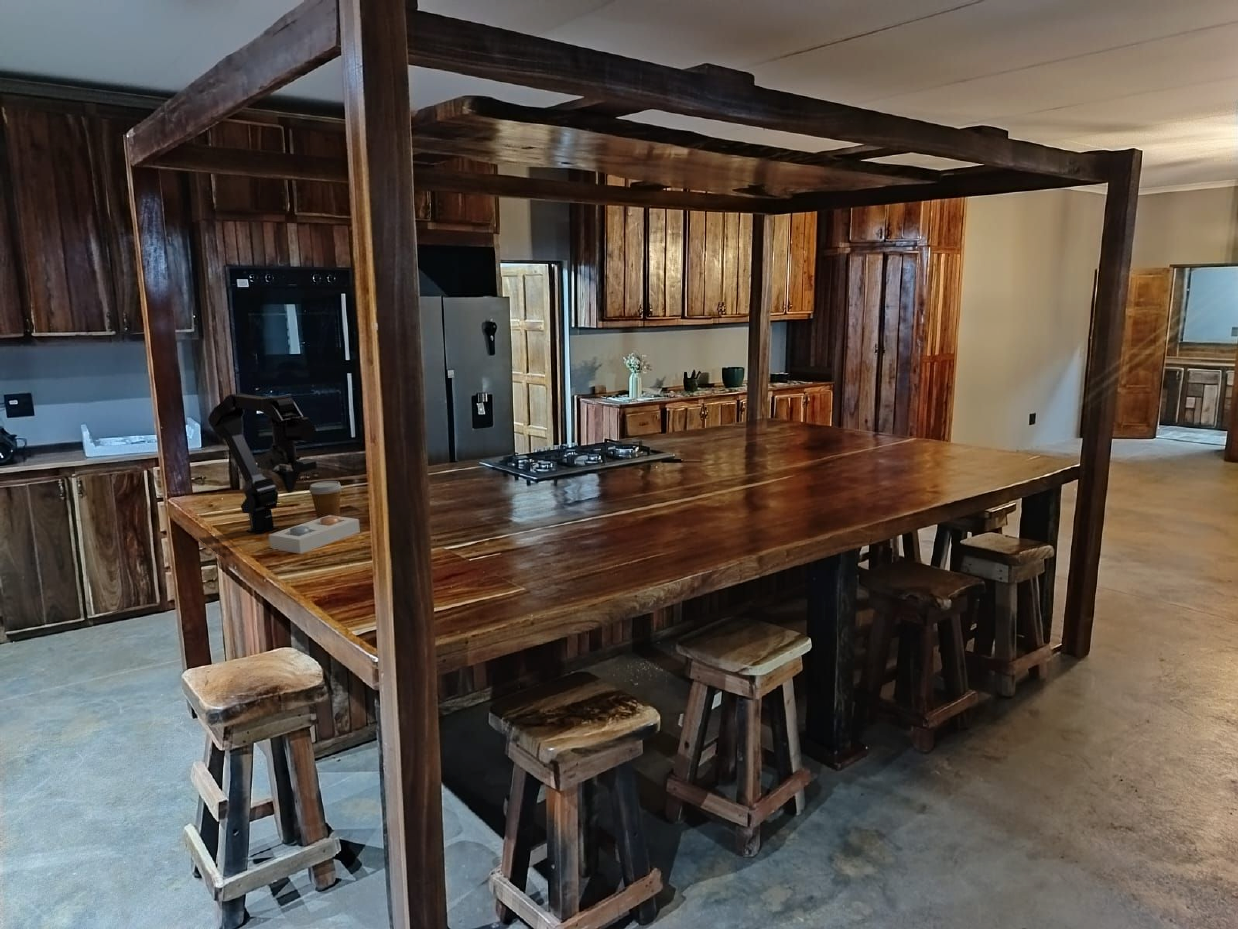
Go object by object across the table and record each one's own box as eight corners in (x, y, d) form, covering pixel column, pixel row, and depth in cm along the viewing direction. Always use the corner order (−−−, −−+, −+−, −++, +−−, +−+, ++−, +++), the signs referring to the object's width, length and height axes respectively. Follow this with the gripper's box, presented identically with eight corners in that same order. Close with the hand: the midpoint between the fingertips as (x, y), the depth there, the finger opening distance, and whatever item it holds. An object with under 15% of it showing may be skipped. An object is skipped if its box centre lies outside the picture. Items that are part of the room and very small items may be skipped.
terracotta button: (317, 529, 244) (316, 520, 244) (330, 525, 249) (329, 515, 248) (330, 531, 242) (328, 521, 241) (343, 527, 246) (342, 517, 246)
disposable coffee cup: (311, 527, 255) (307, 489, 252) (313, 519, 263) (309, 482, 261) (344, 524, 257) (340, 486, 255) (345, 516, 266) (341, 479, 264)
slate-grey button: (287, 540, 235) (285, 530, 234) (301, 535, 239) (300, 525, 238) (299, 542, 232) (298, 532, 232) (313, 537, 237) (312, 527, 236)
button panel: (270, 548, 234) (268, 534, 233) (330, 527, 253) (329, 515, 252) (300, 553, 229) (299, 539, 228) (359, 532, 248) (358, 519, 247)
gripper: (238, 442, 238) (244, 496, 241) (283, 446, 229) (290, 502, 232) (270, 436, 247) (276, 487, 251) (315, 439, 239) (321, 492, 242)
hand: (290, 492), depth 244 cm, fingers closed
